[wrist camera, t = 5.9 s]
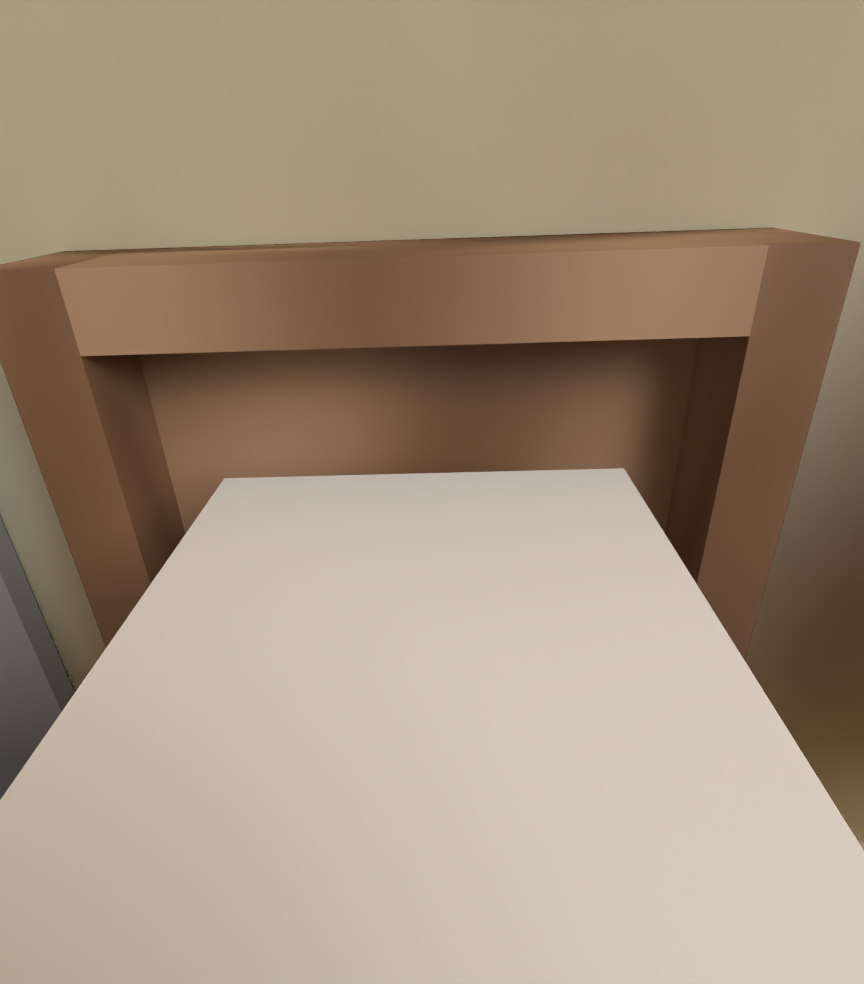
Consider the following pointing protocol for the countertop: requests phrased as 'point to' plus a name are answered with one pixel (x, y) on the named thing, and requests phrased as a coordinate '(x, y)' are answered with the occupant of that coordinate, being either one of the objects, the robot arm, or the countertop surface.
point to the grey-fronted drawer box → (425, 759)
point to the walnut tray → (426, 380)
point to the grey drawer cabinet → (24, 669)
